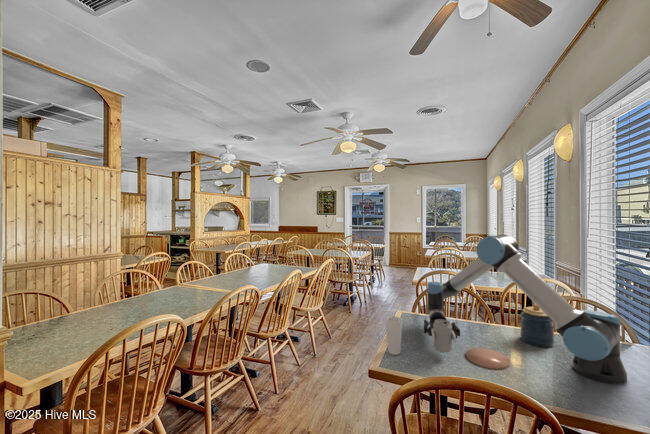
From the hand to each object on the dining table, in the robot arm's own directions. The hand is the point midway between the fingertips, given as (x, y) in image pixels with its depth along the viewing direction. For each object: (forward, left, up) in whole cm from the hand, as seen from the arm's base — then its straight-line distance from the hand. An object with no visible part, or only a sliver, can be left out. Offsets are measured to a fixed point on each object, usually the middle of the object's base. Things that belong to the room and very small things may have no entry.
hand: (444, 338), depth 120 cm
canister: (0, -55, -10) cm, 56 cm away
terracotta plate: (-4, -19, -10) cm, 22 cm away
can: (+4, -3, -7) cm, 8 cm away
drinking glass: (+15, +14, -10) cm, 23 cm away
